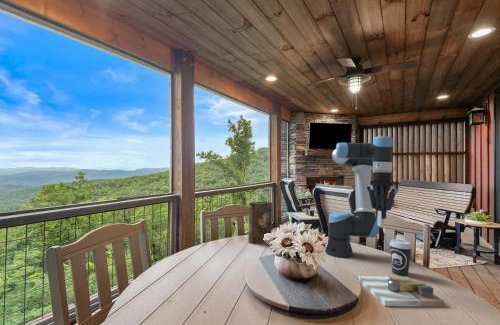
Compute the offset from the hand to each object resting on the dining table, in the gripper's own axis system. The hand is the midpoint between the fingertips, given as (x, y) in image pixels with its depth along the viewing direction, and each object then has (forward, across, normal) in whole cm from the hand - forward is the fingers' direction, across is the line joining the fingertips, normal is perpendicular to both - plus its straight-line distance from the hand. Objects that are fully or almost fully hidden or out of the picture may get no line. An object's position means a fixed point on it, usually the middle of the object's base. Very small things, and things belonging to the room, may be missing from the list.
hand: (380, 225), depth 113 cm
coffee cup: (+25, 0, +18) cm, 30 cm away
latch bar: (+22, +12, -2) cm, 25 cm away
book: (+25, -73, -13) cm, 79 cm away
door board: (+24, +9, -3) cm, 26 cm away
